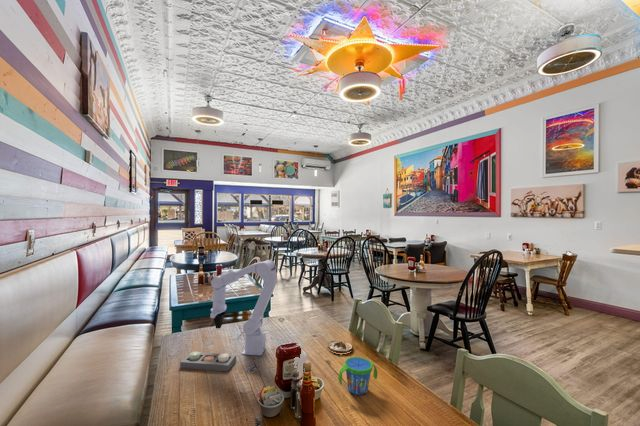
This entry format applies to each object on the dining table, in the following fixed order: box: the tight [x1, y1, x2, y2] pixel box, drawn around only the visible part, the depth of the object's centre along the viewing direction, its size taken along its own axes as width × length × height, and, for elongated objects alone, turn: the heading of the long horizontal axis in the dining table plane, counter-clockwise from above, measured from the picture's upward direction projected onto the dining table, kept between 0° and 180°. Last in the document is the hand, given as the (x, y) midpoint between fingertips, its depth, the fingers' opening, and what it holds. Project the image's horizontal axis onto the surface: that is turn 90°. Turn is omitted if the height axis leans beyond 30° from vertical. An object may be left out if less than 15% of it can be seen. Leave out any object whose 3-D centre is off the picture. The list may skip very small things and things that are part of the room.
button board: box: [179, 351, 237, 372], centre depth 127 cm, size 21×9×2 cm, turn 85°
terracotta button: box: [204, 356, 214, 362], centre depth 127 cm, size 4×4×2 cm
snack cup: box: [337, 356, 378, 396], centre depth 111 cm, size 16×10×10 cm
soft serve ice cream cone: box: [293, 343, 308, 377], centre depth 113 cm, size 8×8×16 cm
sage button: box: [188, 351, 201, 361], centre depth 128 cm, size 4×4×2 cm
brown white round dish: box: [327, 340, 354, 353], centre depth 144 cm, size 15×15×4 cm
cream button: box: [218, 353, 229, 363], centre depth 126 cm, size 4×4×2 cm
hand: (218, 327), depth 143 cm, fingers closed
